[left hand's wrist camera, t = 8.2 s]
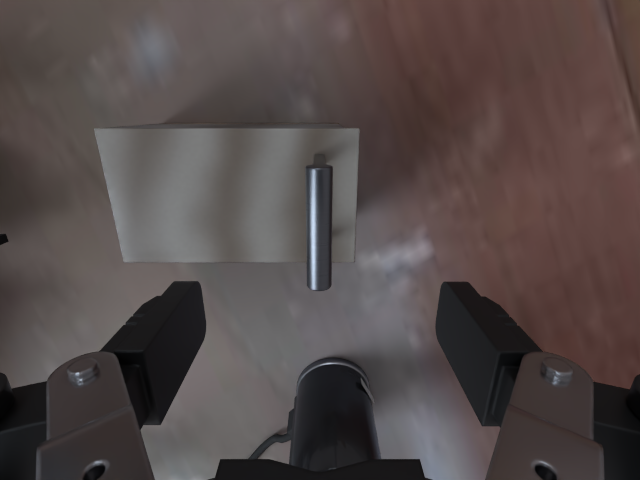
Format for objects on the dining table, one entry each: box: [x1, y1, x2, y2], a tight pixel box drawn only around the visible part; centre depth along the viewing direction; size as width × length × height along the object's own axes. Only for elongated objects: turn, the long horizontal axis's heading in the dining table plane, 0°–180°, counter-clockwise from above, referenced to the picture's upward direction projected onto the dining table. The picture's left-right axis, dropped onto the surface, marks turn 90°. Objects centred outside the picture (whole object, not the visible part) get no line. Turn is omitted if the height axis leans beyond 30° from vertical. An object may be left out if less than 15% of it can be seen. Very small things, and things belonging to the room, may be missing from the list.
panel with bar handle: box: [94, 128, 360, 291], centre depth 22 cm, size 18×10×8 cm, turn 90°
